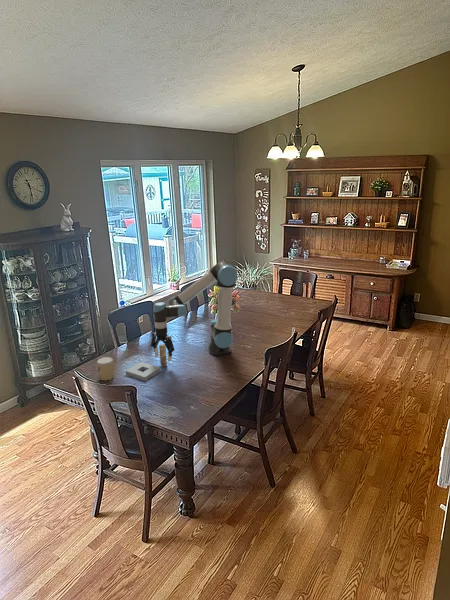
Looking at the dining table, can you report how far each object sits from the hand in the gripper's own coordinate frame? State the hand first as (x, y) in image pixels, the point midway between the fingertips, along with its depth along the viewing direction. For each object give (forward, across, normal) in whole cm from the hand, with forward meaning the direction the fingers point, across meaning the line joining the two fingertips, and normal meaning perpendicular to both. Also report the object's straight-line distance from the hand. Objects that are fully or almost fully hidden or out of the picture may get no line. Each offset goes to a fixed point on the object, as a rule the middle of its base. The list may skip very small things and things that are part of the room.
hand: (163, 358), depth 261 cm
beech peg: (+5, 0, 0) cm, 5 cm away
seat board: (+5, +5, +14) cm, 16 cm away
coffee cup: (+5, +20, +30) cm, 36 cm away
